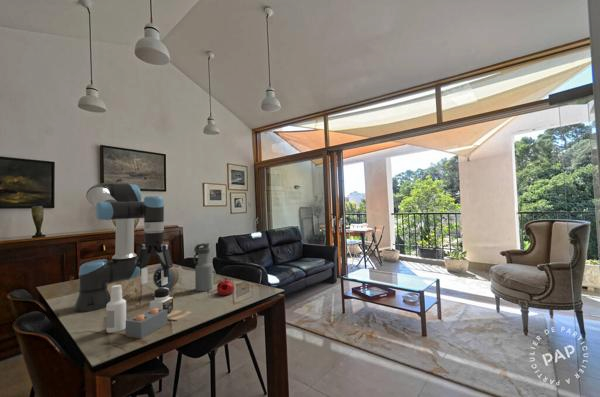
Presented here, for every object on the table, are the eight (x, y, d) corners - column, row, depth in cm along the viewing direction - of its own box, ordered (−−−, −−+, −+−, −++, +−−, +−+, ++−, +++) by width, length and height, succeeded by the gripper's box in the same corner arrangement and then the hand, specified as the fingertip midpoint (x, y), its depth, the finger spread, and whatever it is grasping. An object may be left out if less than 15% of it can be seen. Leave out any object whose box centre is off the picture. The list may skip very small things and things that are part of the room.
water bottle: (191, 291, 158) (191, 244, 159) (200, 286, 167) (199, 242, 168) (207, 292, 156) (206, 244, 157) (215, 287, 166) (214, 242, 167)
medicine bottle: (163, 317, 120) (162, 291, 121) (149, 316, 122) (149, 290, 122) (173, 311, 127) (173, 286, 128) (160, 310, 129) (160, 286, 129)
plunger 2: (148, 323, 111) (148, 310, 111) (154, 320, 114) (154, 307, 114) (154, 324, 110) (154, 311, 110) (160, 321, 113) (160, 308, 113)
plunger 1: (133, 331, 104) (133, 317, 104) (140, 327, 107) (140, 314, 107) (139, 332, 103) (139, 317, 104) (146, 328, 106) (146, 314, 106)
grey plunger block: (125, 336, 103) (125, 320, 104) (152, 322, 116) (152, 308, 116) (141, 338, 101) (141, 322, 101) (167, 323, 114) (167, 309, 114)
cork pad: (161, 318, 119) (161, 317, 119) (175, 311, 128) (175, 310, 128) (177, 321, 116) (177, 319, 116) (191, 313, 125) (191, 311, 125)
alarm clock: (149, 295, 152) (149, 265, 153) (162, 290, 162) (161, 261, 162) (171, 297, 149) (170, 265, 149) (182, 291, 158) (182, 262, 159)
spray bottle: (112, 326, 113) (113, 283, 113) (129, 325, 113) (129, 283, 114) (102, 333, 106) (102, 288, 106) (120, 332, 106) (120, 287, 107)
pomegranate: (226, 290, 159) (226, 274, 160) (237, 292, 154) (237, 276, 154) (212, 294, 151) (212, 278, 152) (223, 297, 146) (223, 280, 146)
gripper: (125, 232, 113) (125, 284, 112) (168, 233, 106) (169, 288, 106) (141, 231, 120) (141, 279, 119) (182, 231, 113) (182, 283, 113)
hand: (154, 283), depth 112 cm, fingers open, 10 cm apart
